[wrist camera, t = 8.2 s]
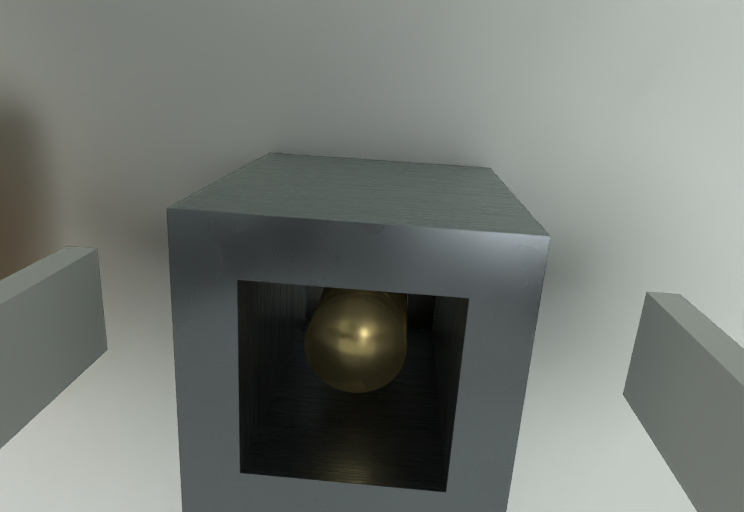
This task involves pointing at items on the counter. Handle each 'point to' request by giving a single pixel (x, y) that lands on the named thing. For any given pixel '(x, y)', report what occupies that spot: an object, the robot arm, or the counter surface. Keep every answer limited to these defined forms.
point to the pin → (357, 338)
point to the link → (289, 325)
